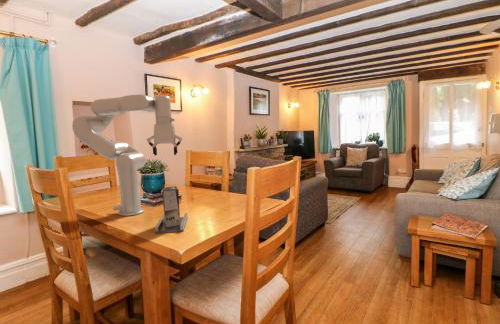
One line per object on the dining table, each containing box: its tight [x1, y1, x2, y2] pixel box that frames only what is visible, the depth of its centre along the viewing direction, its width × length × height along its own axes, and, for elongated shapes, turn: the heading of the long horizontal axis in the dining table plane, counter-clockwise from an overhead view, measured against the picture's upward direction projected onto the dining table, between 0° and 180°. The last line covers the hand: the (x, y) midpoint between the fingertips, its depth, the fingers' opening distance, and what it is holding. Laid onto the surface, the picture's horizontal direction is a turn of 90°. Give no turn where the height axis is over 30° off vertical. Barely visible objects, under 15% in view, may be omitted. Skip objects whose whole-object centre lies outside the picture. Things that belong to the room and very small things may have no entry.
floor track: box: [154, 212, 189, 234], centre depth 124 cm, size 11×18×3 cm, turn 7°
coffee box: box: [161, 186, 181, 227], centre depth 124 cm, size 9×6×16 cm
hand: (165, 155), depth 140 cm, fingers open, 9 cm apart
